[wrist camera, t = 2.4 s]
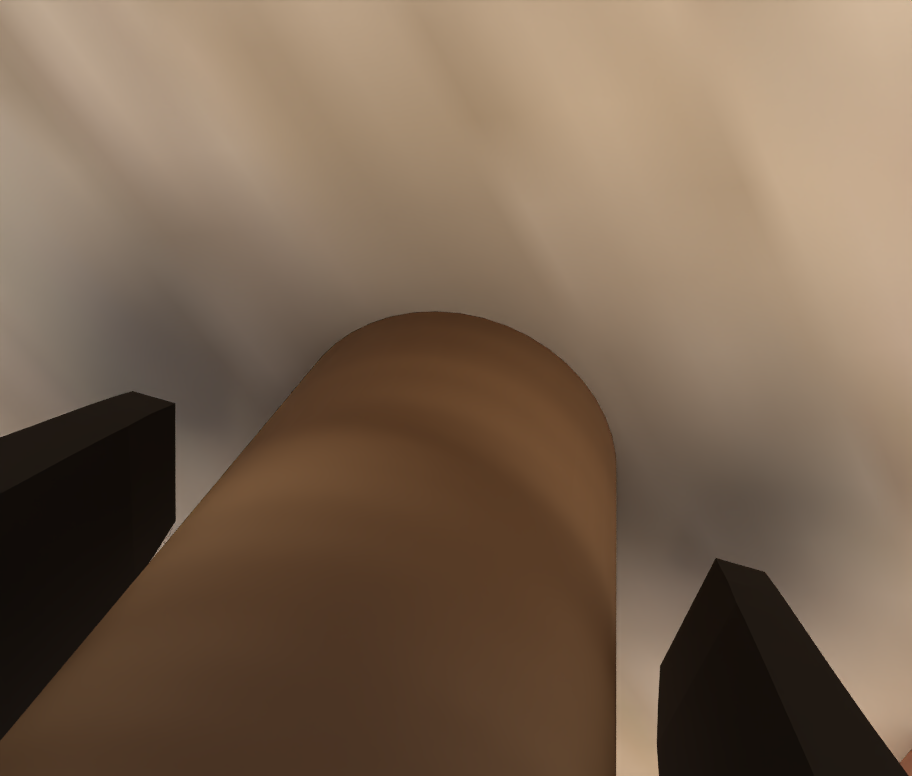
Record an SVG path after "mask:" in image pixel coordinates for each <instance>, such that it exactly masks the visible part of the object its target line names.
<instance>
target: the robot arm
mask: <svg viewBox="0 0 912 776" xmlns="http://www.w3.org/2000/svg"><path fill="white" fill-rule="evenodd" d="M175 521H176V508H175V403H172V402H169V401H165V400H162V399H158V398H155V397H151V396H148V395H144V394H141V393H137V392H134V391H132V392H128V393H125V394H121V395H118V396H115V397H112V398H109V399H106V400H103V401H100V402H97V403H94V404H91V405H88V406H86V407H83V408H80V409H77V410H74V411H72V412H69V413H66V414H63V415H61V416H58V417H55V418H53V419H50V420H47V421H44V422H42V423H39V424H36V425H34V426H31V427H28V428H25V429H23V430H20V431H17V432H14V433H12V434H9V435H6V436H3V437H0V741H1V739H2V738H3V737H4V736H5V735H6V733H7V732H8V731H9V730H10V729H11V727H12V726H13V725H14V724H15V723H16V721H17V720H18V719H19V718H20V717H21V715H22V714H23V713H24V712H25V711H26V709H27V708H28V707H29V706H30V705H31V704H32V702H33V701H34V700H35V699H36V698H37V696H38V695H39V694H40V693H41V692H42V690H43V689H44V688H45V687H46V686H47V684H48V683H49V682H50V681H51V680H52V678H53V677H54V676H55V675H56V674H57V672H58V671H59V670H60V669H61V668H62V666H63V665H64V664H65V663H66V662H67V661H68V659H69V658H70V657H71V656H72V655H73V653H74V652H75V651H76V650H77V649H78V647H79V646H80V645H81V644H82V643H83V641H84V640H85V639H86V638H87V637H88V635H89V634H90V633H91V632H92V631H93V629H94V628H95V627H96V626H97V625H98V623H99V622H100V621H101V620H102V619H103V618H104V616H105V615H106V614H107V613H108V612H109V610H110V609H111V608H112V607H113V606H114V604H115V603H116V602H117V601H118V600H119V598H120V597H121V596H122V595H123V594H124V592H125V591H126V590H127V589H128V588H129V586H130V585H131V584H132V583H133V582H134V580H135V579H136V578H137V577H138V576H139V575H140V573H141V572H142V571H143V570H144V569H145V567H146V566H147V565H148V564H149V562H150V561H151V559H152V558H153V556H154V555H155V553H156V551H157V550H158V548H159V547H160V545H161V543H162V542H163V540H164V539H165V537H166V535H167V534H168V532H169V531H170V529H171V527H172V526H173V524H174V523H175ZM657 754H658V768H659V776H909V775H908V774H907V773H906V771H905V770H904V769H903V767H902V766H901V765H900V763H899V762H898V761H897V759H896V758H895V757H894V755H893V754H892V753H891V751H890V750H889V748H888V747H887V746H886V744H885V743H884V742H883V740H882V739H881V738H880V736H879V735H878V733H877V732H876V731H875V729H874V728H873V727H872V725H871V724H870V722H869V721H868V720H867V718H866V717H865V715H864V714H863V713H862V711H861V710H860V708H859V707H858V706H857V704H856V703H855V701H854V700H853V698H852V697H851V696H850V694H849V693H848V691H847V690H846V688H845V687H844V686H843V684H842V683H841V681H840V680H839V678H838V677H837V676H836V674H835V673H834V671H833V670H832V668H831V667H830V665H829V664H828V662H827V661H826V660H825V658H824V657H823V655H822V654H821V652H820V651H819V649H818V648H817V646H816V645H815V643H814V642H813V640H812V639H811V638H810V636H809V635H808V633H807V632H806V630H805V629H804V627H803V626H802V624H801V623H800V621H799V620H798V618H797V617H796V615H795V614H794V613H793V611H792V610H791V608H790V607H789V605H788V604H787V602H786V601H785V599H784V598H783V597H782V595H781V594H780V592H779V591H778V589H777V588H776V587H775V585H774V584H773V582H772V581H771V580H770V578H769V577H768V576H767V574H766V573H765V572H763V571H759V570H756V569H752V568H749V567H745V566H742V565H738V564H735V563H731V562H728V561H724V560H721V559H717V558H716V559H715V561H714V563H713V565H712V567H711V569H710V570H709V572H708V574H707V576H706V578H705V580H704V582H703V584H702V586H701V588H700V590H699V592H698V594H697V596H696V598H695V600H694V601H693V603H692V605H691V607H690V609H689V611H688V613H687V615H686V617H685V619H684V621H683V623H682V625H681V627H680V629H679V631H678V633H677V634H676V636H675V638H674V640H673V642H672V644H671V646H670V648H669V650H668V652H667V654H666V656H665V658H664V660H663V662H662V664H661V665H660V679H659V698H658V724H657Z"/></svg>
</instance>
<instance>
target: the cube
mask: <svg viewBox="0 0 912 776" xmlns="http://www.w3.org/2000/svg"><path fill="white" fill-rule="evenodd" d="M900 765H901V766H902V767H903V769H904V770H905V771H906V773H907V774H908V775H909V776H912V749H911V751H910V752H909V753H908V754H907V755H906V756H905V758H904V759H903V760H902V761H901V762H900Z"/></svg>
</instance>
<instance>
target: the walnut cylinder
mask: <svg viewBox="0 0 912 776" xmlns="http://www.w3.org/2000/svg"><path fill="white" fill-rule="evenodd" d="M0 776H616V454H615V449H614V443H613V438H612V435H611V432H610V429H609V426H608V423H607V420H606V418H605V416H604V414H603V412H602V410H601V408H600V406H599V404H598V402H597V400H596V399H595V397H594V396H593V394H592V393H591V392H590V390H589V389H588V387H587V386H586V385H585V383H584V382H583V381H582V379H581V378H580V377H579V376H578V375H577V374H576V373H575V372H574V371H573V370H572V369H571V368H570V367H569V366H568V365H567V364H566V363H565V362H564V361H563V360H561V359H560V358H559V357H558V356H557V355H555V354H554V353H553V352H552V351H550V350H549V349H548V348H546V347H545V346H543V345H541V344H540V343H538V342H537V341H535V340H534V339H532V338H530V337H529V336H527V335H525V334H523V333H520V332H518V331H516V330H514V329H512V328H510V327H508V326H505V325H502V324H499V323H496V322H493V321H490V320H487V319H484V318H480V317H475V316H470V315H465V314H460V313H448V312H416V313H408V314H403V315H397V316H392V317H388V318H385V319H382V320H379V321H376V322H373V323H370V324H368V325H366V326H364V327H362V328H360V329H358V330H356V331H354V332H352V333H350V334H349V335H347V336H346V337H345V338H343V339H342V340H340V341H339V342H337V343H336V344H335V345H334V346H333V347H332V348H331V349H329V350H328V351H327V352H326V353H325V354H324V355H323V356H322V357H321V358H320V360H319V361H318V362H317V363H316V364H315V365H314V367H313V368H312V369H311V370H310V371H309V373H308V374H307V375H306V376H305V377H304V379H303V380H302V381H301V382H300V383H299V385H298V386H297V387H296V388H295V389H294V391H293V392H292V393H291V394H290V395H289V397H288V398H287V399H286V400H285V401H284V403H283V404H282V405H281V406H280V407H279V408H278V410H277V411H276V412H275V413H274V414H273V416H272V417H271V418H270V419H269V420H268V422H267V423H266V424H265V425H264V426H263V428H262V429H261V430H260V431H259V432H258V434H257V435H256V436H255V437H254V438H253V440H252V441H251V442H250V443H249V444H248V446H247V447H246V448H245V449H244V450H243V451H242V453H241V454H240V455H239V456H238V457H237V459H236V460H235V461H234V462H233V463H232V465H231V466H230V467H229V468H228V469H227V471H226V472H225V473H224V474H223V475H222V477H221V478H220V479H219V480H218V481H217V483H216V484H215V485H214V486H213V487H212V489H211V490H210V491H209V492H208V493H207V494H206V496H205V497H204V498H203V499H202V500H201V502H200V503H199V504H198V505H197V506H196V508H195V509H194V510H193V511H192V512H191V514H190V515H189V516H188V517H187V518H186V520H185V521H184V522H183V523H182V524H181V526H180V527H179V528H178V529H177V530H176V532H175V533H174V534H173V535H172V536H171V537H170V539H169V540H168V541H167V542H166V543H165V545H164V546H163V547H162V548H161V549H160V551H159V552H158V553H157V554H156V555H155V557H154V558H153V559H152V560H151V561H150V563H149V564H148V565H147V566H146V567H145V569H144V570H143V571H142V572H141V573H140V575H139V576H138V577H137V578H136V579H135V580H134V582H133V583H132V584H131V585H130V586H129V588H128V589H127V590H126V591H125V592H124V594H123V595H122V596H121V597H120V598H119V600H118V601H117V602H116V603H115V604H114V606H113V607H112V608H111V609H110V610H109V612H108V613H107V614H106V615H105V616H104V618H103V619H102V620H101V621H100V622H99V623H98V625H97V626H96V627H95V628H94V629H93V631H92V632H91V633H90V634H89V635H88V637H87V638H86V639H85V640H84V641H83V643H82V644H81V645H80V646H79V647H78V649H77V650H76V651H75V652H74V653H73V655H72V656H71V657H70V658H69V659H68V661H67V662H66V663H65V664H64V665H63V666H62V668H61V669H60V670H59V671H58V672H57V674H56V675H55V676H54V677H53V678H52V680H51V681H50V682H49V683H48V684H47V686H46V687H45V688H44V689H43V690H42V692H41V693H40V694H39V695H38V696H37V698H36V699H35V700H34V701H33V702H32V704H31V705H30V706H29V707H28V708H27V709H26V711H25V712H24V713H23V714H22V715H21V717H20V718H19V719H18V720H17V721H16V723H15V724H14V725H13V726H12V727H11V729H10V730H9V731H8V732H7V733H6V735H5V736H4V737H3V738H2V739H1V741H0Z"/></svg>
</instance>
